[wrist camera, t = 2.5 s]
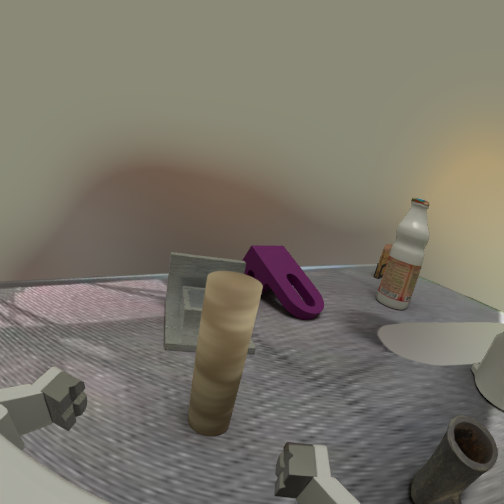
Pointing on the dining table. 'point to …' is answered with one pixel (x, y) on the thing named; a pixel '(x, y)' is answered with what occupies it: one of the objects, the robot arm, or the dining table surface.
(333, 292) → the dining table surface
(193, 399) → the tan wooden cylinder
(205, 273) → the cup bracket
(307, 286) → the mounting bracket
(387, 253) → the ammunition clip
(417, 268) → the fruit juice
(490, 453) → the pipe
